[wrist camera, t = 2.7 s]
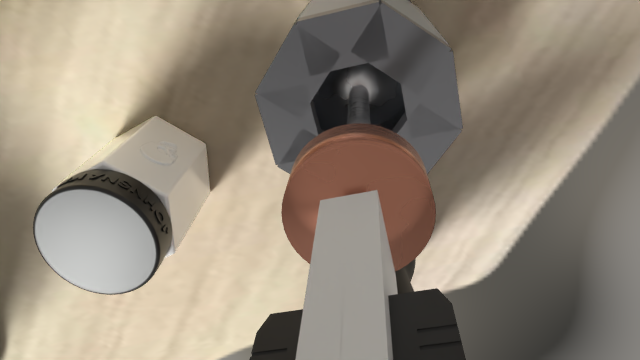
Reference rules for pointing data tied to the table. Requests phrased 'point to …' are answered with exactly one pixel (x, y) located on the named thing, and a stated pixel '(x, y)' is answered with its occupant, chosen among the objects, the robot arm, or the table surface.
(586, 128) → the table surface
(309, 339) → the robot arm
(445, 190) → the table surface
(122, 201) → the jar
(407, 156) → the plunger
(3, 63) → the table surface
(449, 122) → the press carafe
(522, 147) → the table surface
